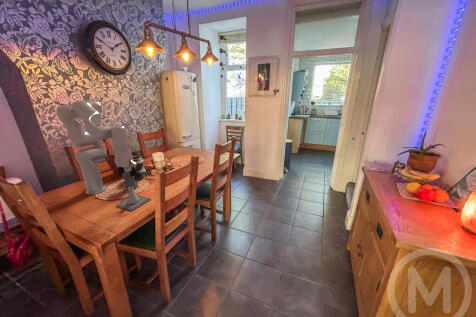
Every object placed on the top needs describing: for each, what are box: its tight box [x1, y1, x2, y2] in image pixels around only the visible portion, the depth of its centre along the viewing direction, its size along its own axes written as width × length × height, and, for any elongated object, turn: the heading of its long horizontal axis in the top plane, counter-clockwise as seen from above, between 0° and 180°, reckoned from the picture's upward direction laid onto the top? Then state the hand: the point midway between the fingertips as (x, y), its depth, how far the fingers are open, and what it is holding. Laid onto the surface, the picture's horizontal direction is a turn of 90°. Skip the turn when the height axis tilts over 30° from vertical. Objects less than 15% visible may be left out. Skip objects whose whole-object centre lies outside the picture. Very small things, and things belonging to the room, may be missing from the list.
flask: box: [127, 187, 140, 204], centre depth 114 cm, size 7×7×10 cm
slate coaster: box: [115, 194, 152, 212], centre depth 116 cm, size 14×14×1 cm
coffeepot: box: [122, 167, 139, 192], centre depth 132 cm, size 15×9×18 cm, turn 64°
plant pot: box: [104, 151, 140, 177], centre depth 159 cm, size 19×19×17 cm
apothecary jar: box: [133, 155, 147, 181], centre depth 150 cm, size 12×12×18 cm
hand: (127, 174), depth 110 cm, fingers open, 9 cm apart
